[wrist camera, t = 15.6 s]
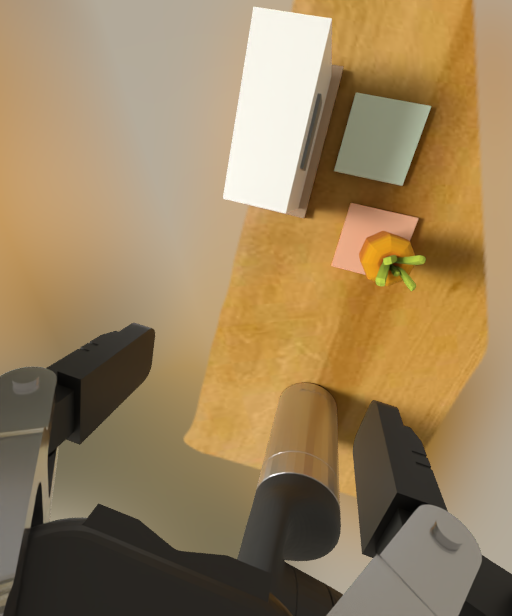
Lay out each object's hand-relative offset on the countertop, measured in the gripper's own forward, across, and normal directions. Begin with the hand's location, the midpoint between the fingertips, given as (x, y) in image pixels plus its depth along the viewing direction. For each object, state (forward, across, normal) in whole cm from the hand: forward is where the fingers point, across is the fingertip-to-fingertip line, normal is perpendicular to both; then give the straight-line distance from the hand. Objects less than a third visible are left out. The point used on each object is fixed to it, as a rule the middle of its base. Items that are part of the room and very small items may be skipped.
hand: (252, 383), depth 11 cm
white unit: (+33, +6, -11) cm, 35 cm away
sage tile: (+33, -4, -14) cm, 36 cm away
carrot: (+32, -8, -3) cm, 33 cm away
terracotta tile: (+33, -7, -3) cm, 34 cm away
